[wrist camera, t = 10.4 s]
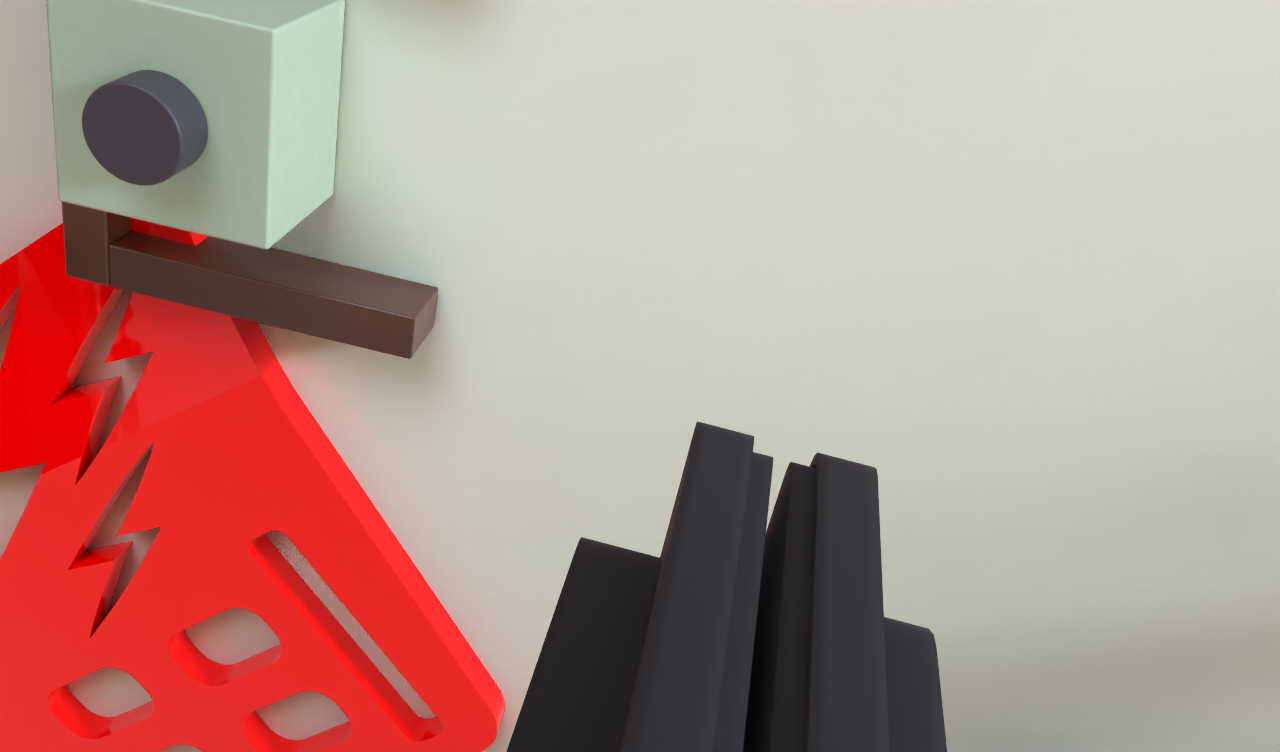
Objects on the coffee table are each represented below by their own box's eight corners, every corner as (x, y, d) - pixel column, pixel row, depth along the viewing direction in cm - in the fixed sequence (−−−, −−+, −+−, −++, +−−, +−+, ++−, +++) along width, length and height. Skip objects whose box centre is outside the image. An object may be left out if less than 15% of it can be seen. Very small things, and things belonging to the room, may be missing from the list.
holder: (90, -215, 25) (35, -215, 24) (487, -126, 25) (461, -119, 23) (107, 248, 31) (64, 276, 29) (434, 326, 31) (410, 359, 29)
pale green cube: (144, -49, 27) (6, -15, 22) (346, -2, 27) (249, 41, 22) (148, 152, 29) (24, 219, 25) (334, 195, 29) (244, 271, 25)
